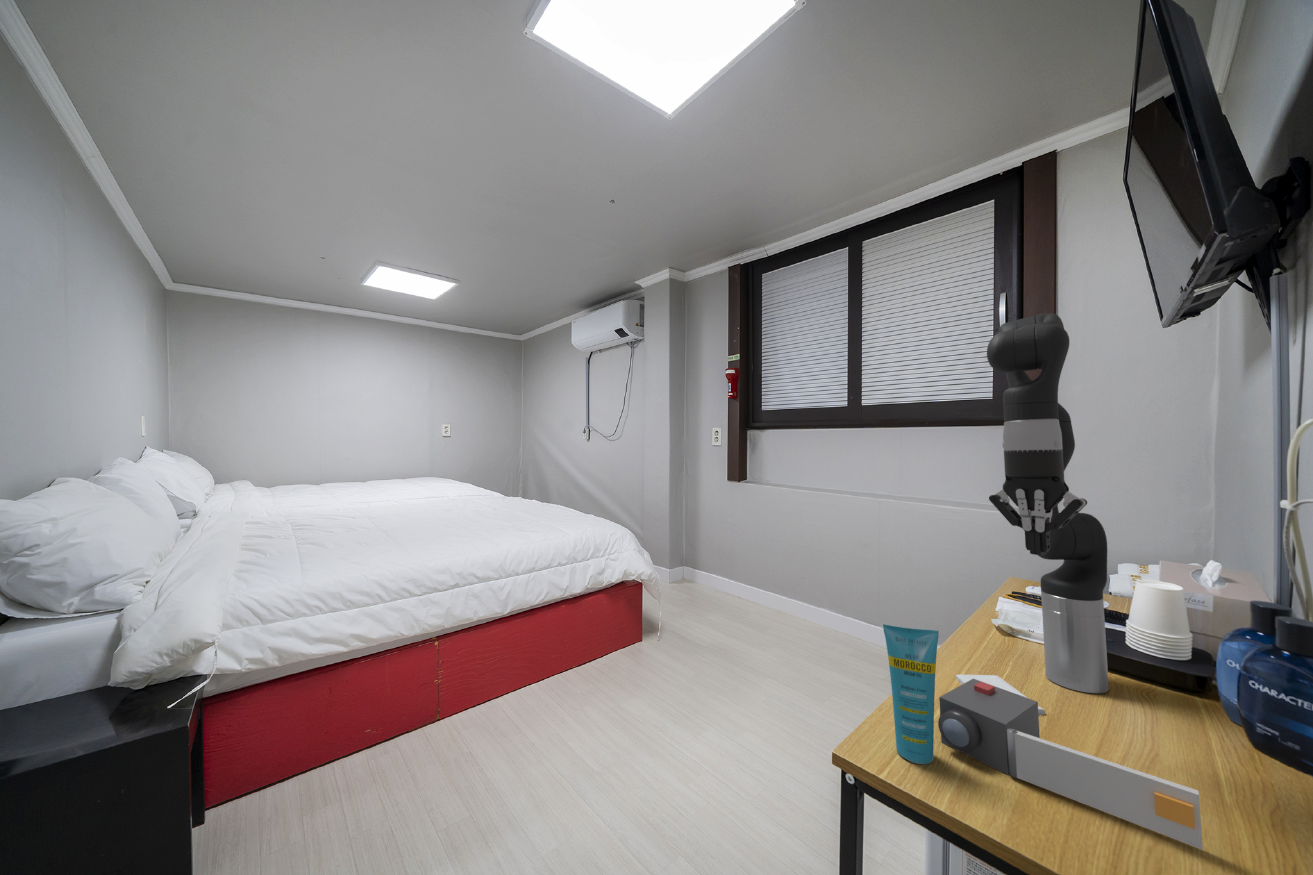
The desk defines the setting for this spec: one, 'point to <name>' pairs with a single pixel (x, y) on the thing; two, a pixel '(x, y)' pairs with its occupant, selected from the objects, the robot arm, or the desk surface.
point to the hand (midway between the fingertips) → (1038, 554)
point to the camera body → (985, 721)
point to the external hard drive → (994, 684)
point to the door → (1107, 787)
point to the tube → (913, 689)
